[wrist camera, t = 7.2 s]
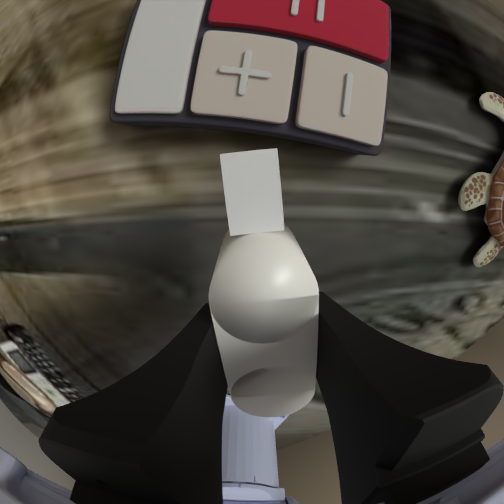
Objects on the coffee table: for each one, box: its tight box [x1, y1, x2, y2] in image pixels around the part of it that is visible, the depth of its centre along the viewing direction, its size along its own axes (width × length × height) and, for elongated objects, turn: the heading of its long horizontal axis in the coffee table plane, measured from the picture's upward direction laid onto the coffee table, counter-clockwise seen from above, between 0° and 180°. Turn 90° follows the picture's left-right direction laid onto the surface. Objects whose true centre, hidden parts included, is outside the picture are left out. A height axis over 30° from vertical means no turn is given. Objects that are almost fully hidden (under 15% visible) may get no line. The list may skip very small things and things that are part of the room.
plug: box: [209, 148, 319, 417], centre depth 9 cm, size 9×3×4 cm, turn 6°
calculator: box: [110, 0, 391, 156], centre depth 12 cm, size 11×4×15 cm
